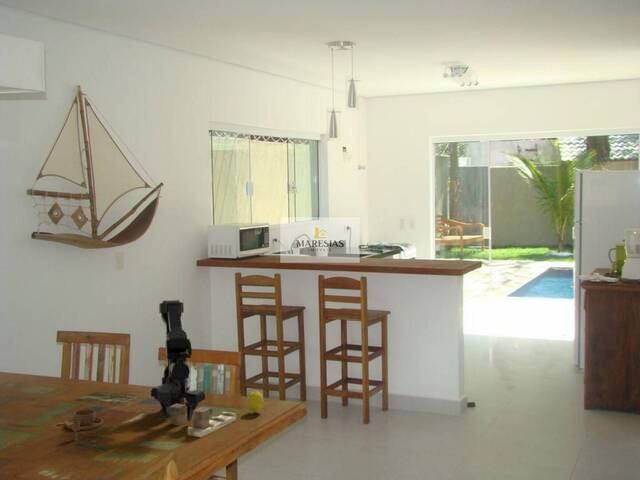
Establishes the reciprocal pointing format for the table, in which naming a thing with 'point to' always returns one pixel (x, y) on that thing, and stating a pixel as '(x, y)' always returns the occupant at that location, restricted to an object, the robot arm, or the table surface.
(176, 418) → the gray and beige block
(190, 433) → the rail
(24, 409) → the table surface
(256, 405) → the lemon
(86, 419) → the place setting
